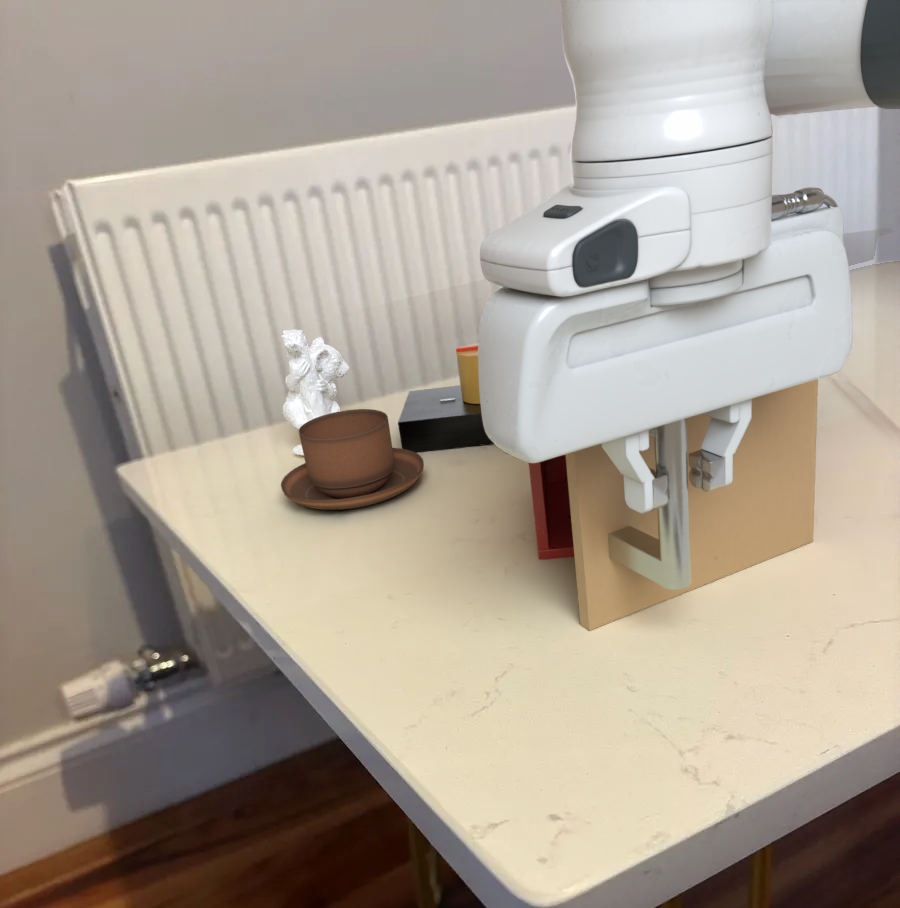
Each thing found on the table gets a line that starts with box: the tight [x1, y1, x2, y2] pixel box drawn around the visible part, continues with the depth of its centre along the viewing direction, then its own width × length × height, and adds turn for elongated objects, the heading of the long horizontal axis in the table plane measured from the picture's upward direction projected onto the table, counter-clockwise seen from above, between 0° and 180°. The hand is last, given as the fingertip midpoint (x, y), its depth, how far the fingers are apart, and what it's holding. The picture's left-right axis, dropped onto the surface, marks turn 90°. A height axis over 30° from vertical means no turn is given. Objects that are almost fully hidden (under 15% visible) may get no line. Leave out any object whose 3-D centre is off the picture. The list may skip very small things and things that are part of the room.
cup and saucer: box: [280, 408, 425, 511], centre depth 85 cm, size 12×12×6 cm
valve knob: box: [455, 342, 480, 404], centre depth 95 cm, size 5×5×5 cm
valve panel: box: [397, 384, 495, 453], centre depth 97 cm, size 12×10×3 cm
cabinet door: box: [566, 379, 819, 631], centre depth 57 cm, size 7×18×18 cm, turn 118°
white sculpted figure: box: [280, 329, 350, 457], centre depth 95 cm, size 8×7×12 cm
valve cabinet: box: [527, 454, 575, 561], centre depth 70 cm, size 13×18×19 cm
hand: (679, 496), depth 53 cm, fingers open, 3 cm apart
